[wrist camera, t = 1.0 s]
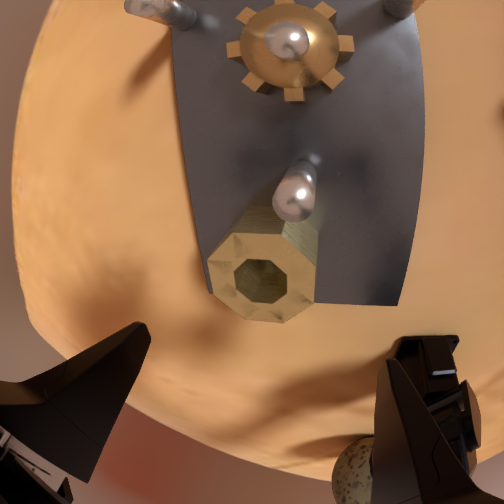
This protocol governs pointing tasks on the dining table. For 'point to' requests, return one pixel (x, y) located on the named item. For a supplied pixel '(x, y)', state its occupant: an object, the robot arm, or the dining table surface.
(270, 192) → the carrier
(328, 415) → the dining table surface
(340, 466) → the decorative egg
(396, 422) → the robot arm
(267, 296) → the hollow octagonal tube
